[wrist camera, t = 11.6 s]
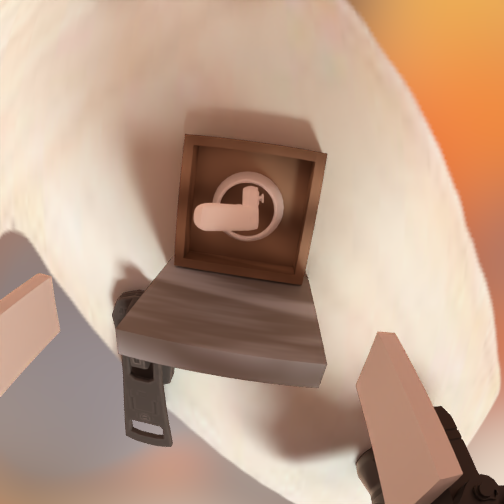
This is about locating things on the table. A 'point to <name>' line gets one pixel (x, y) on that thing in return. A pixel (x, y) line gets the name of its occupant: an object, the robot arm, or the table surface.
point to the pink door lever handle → (240, 208)
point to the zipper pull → (143, 386)
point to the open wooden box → (236, 274)
